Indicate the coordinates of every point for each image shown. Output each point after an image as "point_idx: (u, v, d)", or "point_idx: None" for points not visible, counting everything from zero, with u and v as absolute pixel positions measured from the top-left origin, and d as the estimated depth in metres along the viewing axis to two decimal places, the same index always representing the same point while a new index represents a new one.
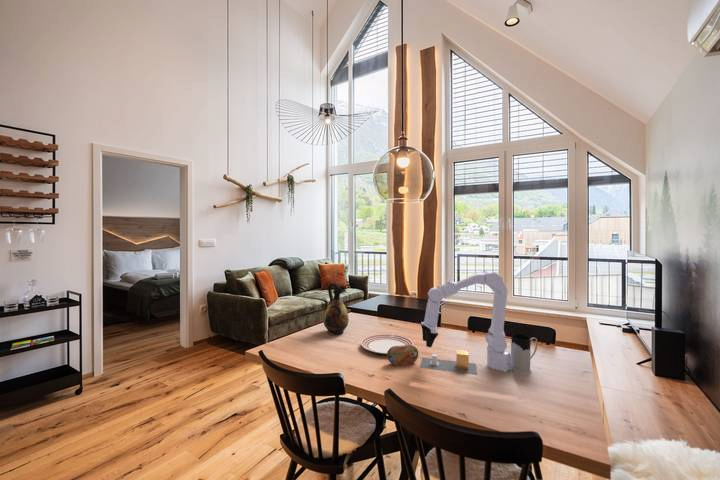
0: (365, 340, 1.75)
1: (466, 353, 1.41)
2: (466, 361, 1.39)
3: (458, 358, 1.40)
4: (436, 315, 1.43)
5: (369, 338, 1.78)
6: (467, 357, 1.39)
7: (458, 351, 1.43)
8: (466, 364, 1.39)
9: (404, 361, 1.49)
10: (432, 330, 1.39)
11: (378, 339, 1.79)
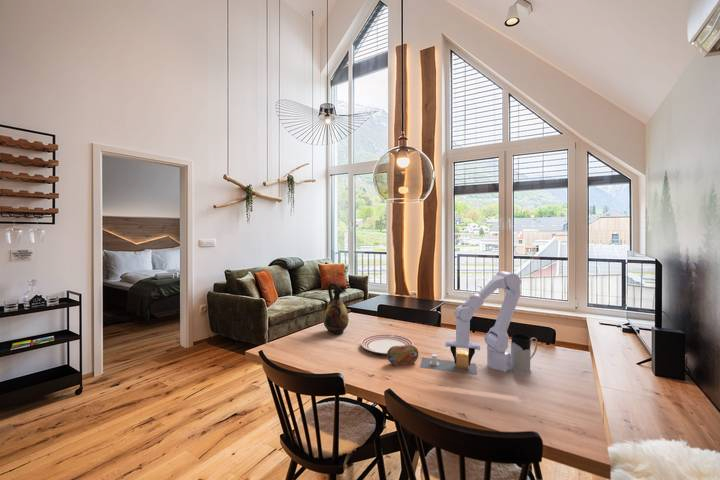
0: (365, 340, 1.75)
1: (466, 353, 1.41)
2: (466, 361, 1.39)
3: (458, 358, 1.40)
4: (468, 334, 1.40)
5: (369, 338, 1.78)
6: (467, 357, 1.39)
7: (458, 351, 1.43)
8: (466, 364, 1.39)
9: (404, 361, 1.49)
10: (479, 347, 1.40)
11: (378, 339, 1.79)
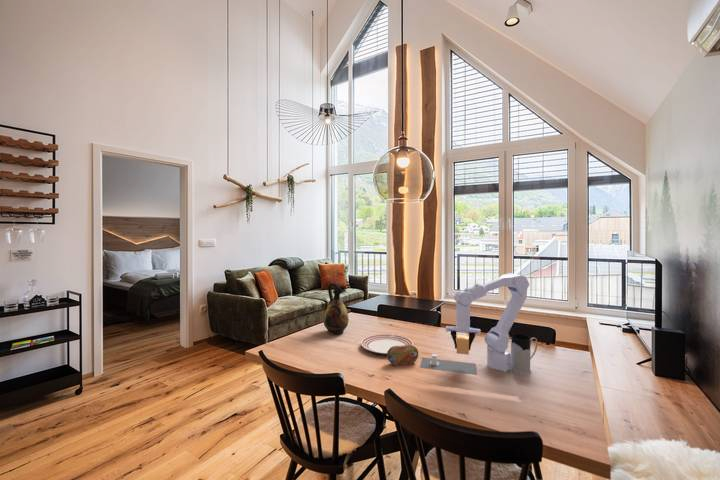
0: (365, 340, 1.75)
1: (466, 338, 1.41)
2: (466, 345, 1.39)
3: (458, 343, 1.40)
4: (468, 318, 1.40)
5: (369, 338, 1.78)
6: (467, 341, 1.39)
7: (458, 336, 1.43)
8: (466, 348, 1.39)
9: (404, 361, 1.49)
10: None
11: (378, 339, 1.79)
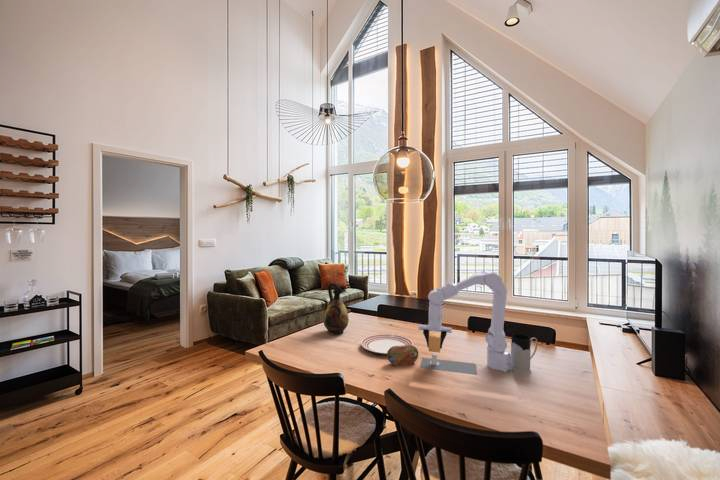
0: (365, 340, 1.75)
1: (438, 336, 1.44)
2: (438, 344, 1.43)
3: (430, 341, 1.44)
4: (439, 317, 1.43)
5: (369, 338, 1.78)
6: (439, 340, 1.43)
7: (431, 334, 1.47)
8: (438, 347, 1.43)
9: (404, 361, 1.49)
10: None
11: (378, 339, 1.79)
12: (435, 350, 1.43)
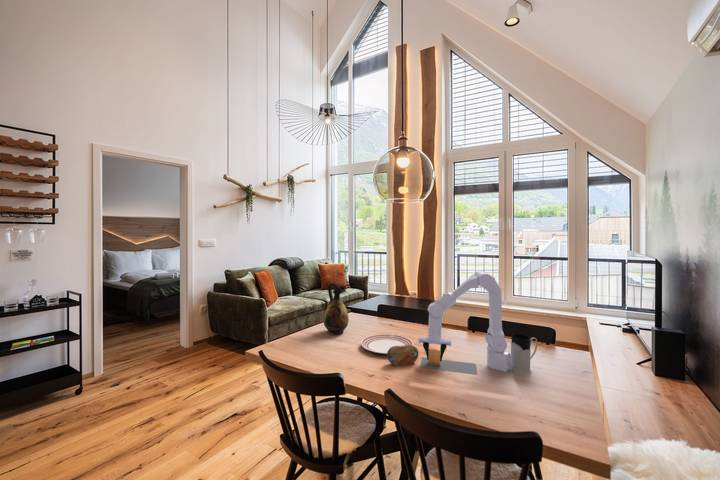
0: (365, 340, 1.75)
1: (438, 349, 1.44)
2: (438, 357, 1.43)
3: (430, 354, 1.44)
4: (439, 330, 1.43)
5: (369, 338, 1.78)
6: (439, 353, 1.43)
7: (431, 347, 1.47)
8: (438, 359, 1.43)
9: (404, 361, 1.49)
10: None
11: (378, 339, 1.79)
12: (435, 363, 1.43)
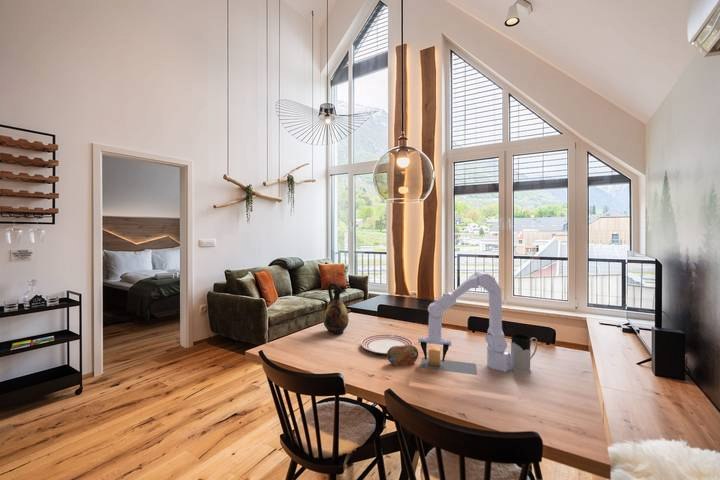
0: (365, 340, 1.75)
1: (438, 349, 1.44)
2: (438, 357, 1.43)
3: (429, 354, 1.44)
4: (439, 330, 1.43)
5: (369, 338, 1.78)
6: (439, 353, 1.43)
7: (431, 347, 1.47)
8: (438, 360, 1.43)
9: (404, 361, 1.49)
10: None
11: (378, 339, 1.79)
12: (435, 363, 1.43)
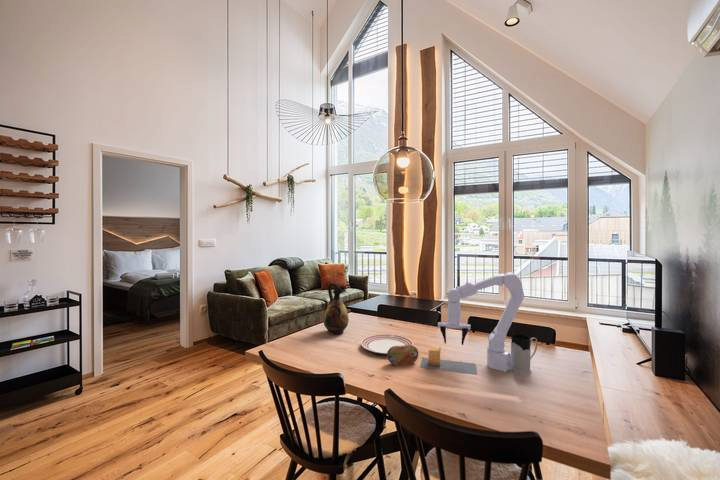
0: (365, 340, 1.75)
1: (438, 349, 1.44)
2: (438, 357, 1.43)
3: (429, 354, 1.44)
4: (457, 315, 1.47)
5: (369, 338, 1.78)
6: (439, 353, 1.43)
7: (431, 347, 1.47)
8: (438, 360, 1.43)
9: (404, 361, 1.49)
10: None
11: (378, 339, 1.79)
12: (435, 363, 1.43)
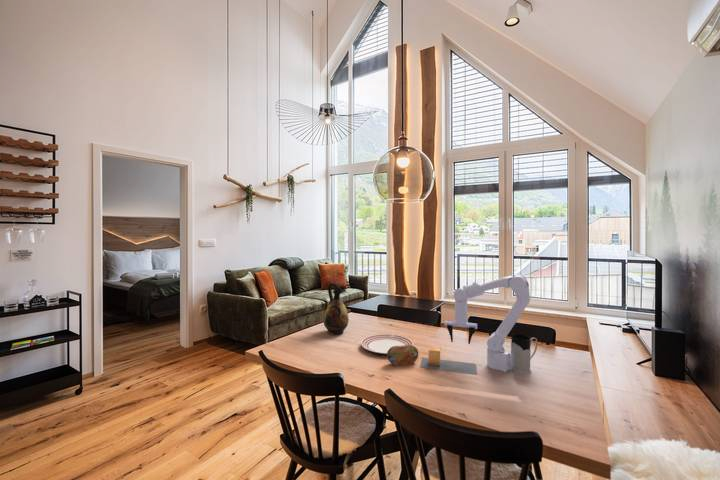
0: (365, 340, 1.75)
1: (438, 349, 1.44)
2: (438, 357, 1.43)
3: (429, 354, 1.44)
4: (463, 314, 1.49)
5: (369, 338, 1.78)
6: (439, 353, 1.43)
7: (431, 347, 1.47)
8: (438, 360, 1.43)
9: (404, 361, 1.49)
10: None
11: (378, 339, 1.79)
12: (435, 363, 1.43)
